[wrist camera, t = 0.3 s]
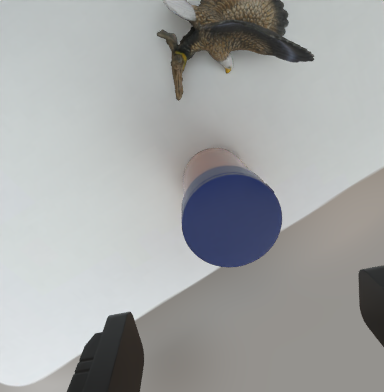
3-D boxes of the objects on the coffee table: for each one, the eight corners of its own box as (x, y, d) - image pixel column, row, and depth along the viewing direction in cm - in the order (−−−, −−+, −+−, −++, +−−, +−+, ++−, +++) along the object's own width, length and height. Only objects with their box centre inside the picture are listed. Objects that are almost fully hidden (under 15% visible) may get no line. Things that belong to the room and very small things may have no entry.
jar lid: (241, 145, 19) (249, 152, 16) (288, 217, 20) (301, 232, 18) (163, 199, 19) (161, 212, 17) (213, 264, 21) (217, 283, 19)
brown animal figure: (193, 125, 24) (314, 86, 22) (156, 74, 17) (325, 11, 15) (176, 43, 26) (285, -1, 24) (136, -32, 19) (284, -102, 17)
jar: (223, 134, 25) (245, 156, 17) (257, 186, 27) (293, 229, 18) (170, 172, 26) (165, 210, 18) (206, 219, 28) (217, 276, 19)
